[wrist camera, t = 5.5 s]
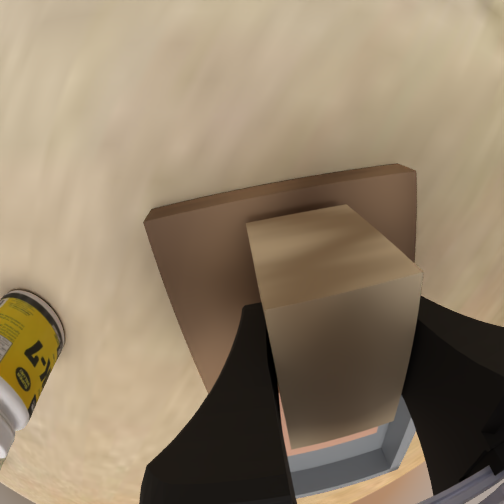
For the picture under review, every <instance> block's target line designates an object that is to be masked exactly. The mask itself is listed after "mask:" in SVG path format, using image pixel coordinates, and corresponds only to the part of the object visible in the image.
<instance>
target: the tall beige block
mask: <svg viewBox="0 0 504 504" xmlns="http://www.w3.org/2000/svg"><path fill="white" fill-rule="evenodd" d="M246 228H247V233H248V238H249V243H250V248H251V253H252V258H253V263H254V268H255V273H256V278H257V283H258V288H259V293H260V298H261V302H262V306H263V311H264V316H265V320H266V325H267V331H268V336H269V341H270V346H271V351H272V356H273V361H274V366H275V371H276V376H277V381H278V387H279V392H280V397H281V402H282V407H283V412H284V416H285V421H286V426H287V431H288V436H289V440H290V445H291V450H292V449H297V448H302V447H306V446H311V445H315V444H319V443H323V442H327V441H331V440H335V439H338V438H342V437H345V436H349V435H352V434H356V433H359V432H362V431H365V430H368V429H371V428H375V427H377V426H380V425H383V424H386V423H389V422H392V421H394V418H395V414H396V411H397V407H398V404H399V400H400V397H401V393H402V389H403V385H404V381H405V377H406V373H407V368H408V364H409V359H410V355H411V350H412V345H413V340H414V334H415V329H416V323H417V317H418V310H419V304H420V296H421V289H422V280H423V271H422V270H421V269H420V268H419V267H418V266H417V265H416V264H415V263H414V262H412V261H411V260H410V259H409V258H408V257H407V256H406V255H405V254H404V253H403V252H402V251H400V250H399V249H398V248H397V247H396V246H395V245H394V244H393V243H391V242H390V241H389V240H388V239H387V238H386V237H385V236H384V235H382V234H381V233H380V232H379V231H378V230H377V229H375V228H374V227H373V226H372V225H371V224H370V223H368V222H367V221H366V220H365V219H364V218H362V217H361V216H360V215H359V214H358V213H356V212H355V211H354V210H353V209H352V208H350V207H349V206H348V205H347V204H345V205H340V206H334V207H328V208H323V209H317V210H312V211H307V212H301V213H296V214H291V215H285V216H280V217H275V218H270V219H265V220H260V221H254V222H249V223H246Z"/></svg>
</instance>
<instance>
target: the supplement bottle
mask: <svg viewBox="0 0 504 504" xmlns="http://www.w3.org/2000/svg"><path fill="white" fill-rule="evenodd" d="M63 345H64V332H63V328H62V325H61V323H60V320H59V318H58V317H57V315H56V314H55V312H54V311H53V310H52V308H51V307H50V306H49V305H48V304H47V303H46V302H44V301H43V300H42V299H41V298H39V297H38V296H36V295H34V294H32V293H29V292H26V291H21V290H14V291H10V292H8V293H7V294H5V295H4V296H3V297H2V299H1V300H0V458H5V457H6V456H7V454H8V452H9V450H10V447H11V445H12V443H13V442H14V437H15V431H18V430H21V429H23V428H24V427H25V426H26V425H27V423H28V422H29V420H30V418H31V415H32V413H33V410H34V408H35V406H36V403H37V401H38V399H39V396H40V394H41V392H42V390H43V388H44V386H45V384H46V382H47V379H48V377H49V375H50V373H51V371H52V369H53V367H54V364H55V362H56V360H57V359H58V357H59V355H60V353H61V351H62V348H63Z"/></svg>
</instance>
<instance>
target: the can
mask: <svg viewBox="0 0 504 504" xmlns="http://www.w3.org/2000/svg"><path fill="white" fill-rule="evenodd" d="M5 459H6V457H5V458H0V469H1V467H2V464H3V462H4V460H5Z"/></svg>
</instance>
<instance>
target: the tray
mask: <svg viewBox="0 0 504 504" xmlns="http://www.w3.org/2000/svg"><path fill="white" fill-rule="evenodd" d="M415 431H416V429H415V426H414V423H413V421H412V418H411V416H410V413H409V411H408V408H407V406H406V403H405V401H404V399H403V397H402V395H401V397H400V400H399V404H398V407H397V411H396V414H395V418H394V421H392V422H389V423H386V424H383V425H380V426H378V429H377V433H374V434H371V435H368V436H365V437H362V438H358V439H355V440H352V441H348V442H345V443H341V444H338V445H334V446H331V447H327V448H323V449H319V450H315V451H310V452H306V453H302V454H297V455H292V456H287V457H288V462H289V467H290V472H291V477H292V482H293V487H294V492H295V497H296V499H297V498H302V497H306V496H311V495H315V494H319V493H324V492H328V491H331V490H335V489H339V488H343V487H346V486H349V485H353V484H356V483H359V482H363V481H366V480H369V479H372V478H375V477H377V476H380V475H383V474H386V473H389V472H391V471H394V470H396V469H398V468H399V466H400V464H401V462H402V460H403V458H404V456H405V453H406V451H407V449H408V447H409V445H410V443H411V440H412V438H413V436H414V434H415Z"/></svg>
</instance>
